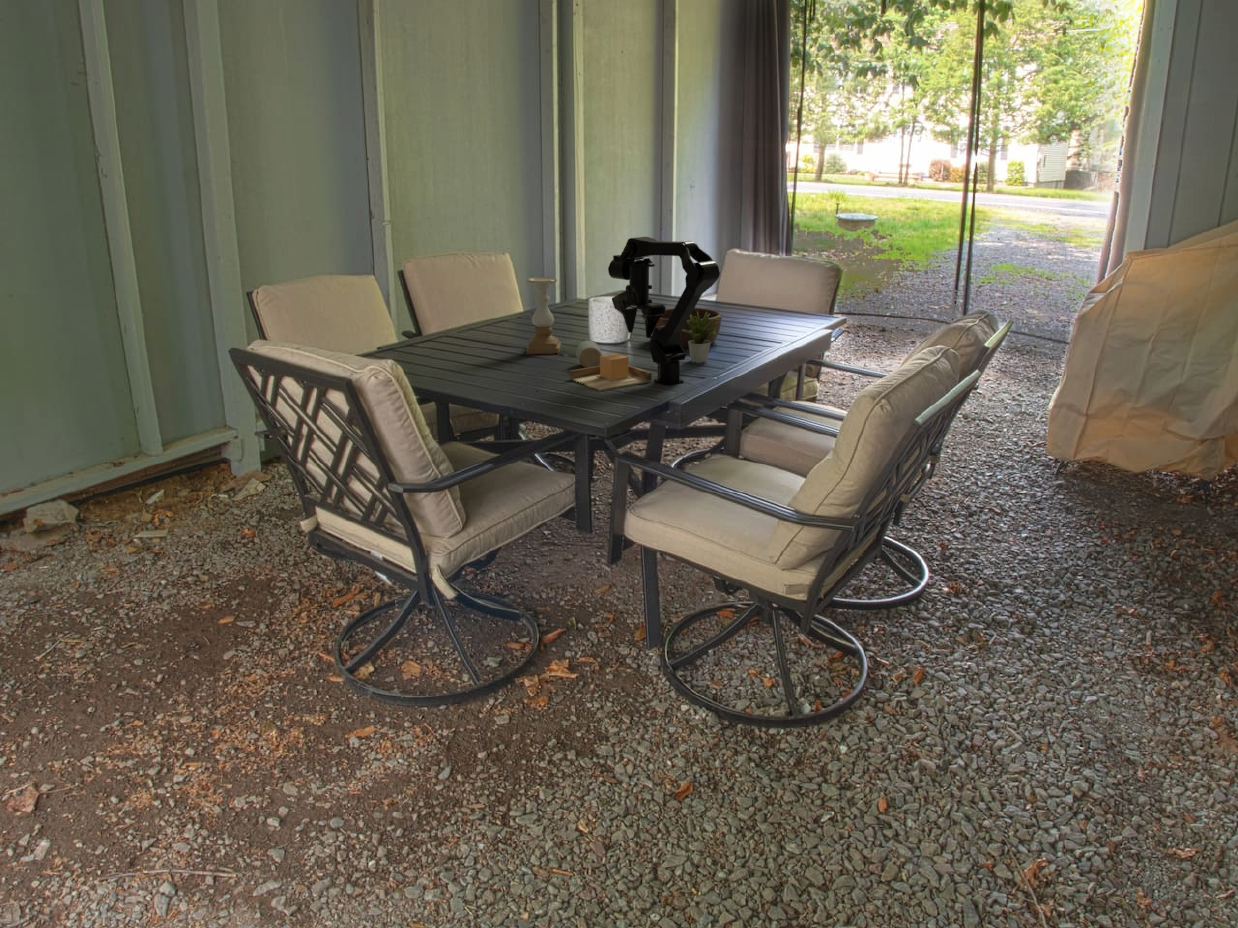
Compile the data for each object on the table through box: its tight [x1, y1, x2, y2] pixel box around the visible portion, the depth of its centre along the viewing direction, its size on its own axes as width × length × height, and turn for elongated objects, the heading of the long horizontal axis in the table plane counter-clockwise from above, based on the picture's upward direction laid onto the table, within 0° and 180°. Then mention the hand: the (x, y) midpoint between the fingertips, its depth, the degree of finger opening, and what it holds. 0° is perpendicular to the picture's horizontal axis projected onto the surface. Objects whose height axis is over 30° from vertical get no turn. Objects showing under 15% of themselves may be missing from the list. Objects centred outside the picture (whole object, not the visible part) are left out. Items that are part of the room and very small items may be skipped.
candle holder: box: [525, 276, 562, 355], centre depth 290 cm, size 11×11×24 cm
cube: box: [599, 353, 629, 380], centre depth 256 cm, size 6×6×6 cm
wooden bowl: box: [652, 307, 723, 349], centre depth 302 cm, size 25×25×10 cm
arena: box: [569, 364, 653, 392], centre depth 255 cm, size 16×18×3 cm
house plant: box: [682, 311, 723, 364], centre depth 274 cm, size 14×14×16 cm
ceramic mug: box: [575, 340, 603, 368], centre depth 271 cm, size 11×8×8 cm
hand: (639, 335), depth 258 cm, fingers open, 9 cm apart
